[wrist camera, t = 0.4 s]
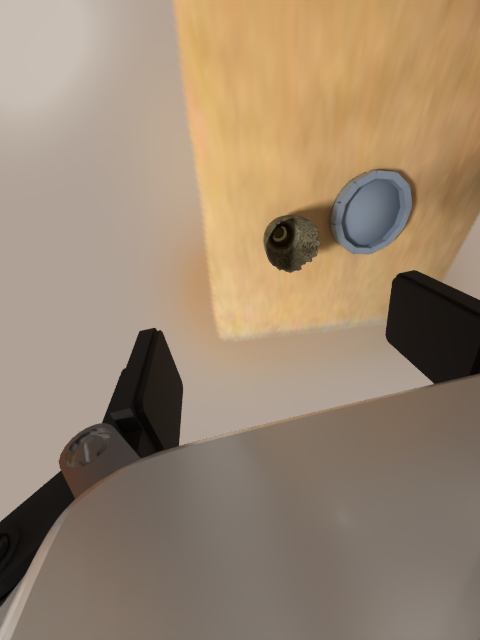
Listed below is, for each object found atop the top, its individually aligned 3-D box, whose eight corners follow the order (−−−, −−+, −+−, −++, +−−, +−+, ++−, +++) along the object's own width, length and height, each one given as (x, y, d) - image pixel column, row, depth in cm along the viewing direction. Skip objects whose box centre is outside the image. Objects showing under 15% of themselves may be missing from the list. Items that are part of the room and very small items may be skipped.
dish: (321, 195, 40) (326, 197, 38) (397, 154, 39) (406, 154, 37) (340, 262, 46) (346, 266, 45) (406, 229, 45) (415, 232, 43)
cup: (269, 263, 45) (282, 282, 38) (246, 226, 41) (256, 239, 34) (308, 238, 43) (328, 252, 37) (288, 197, 40) (306, 205, 33)
